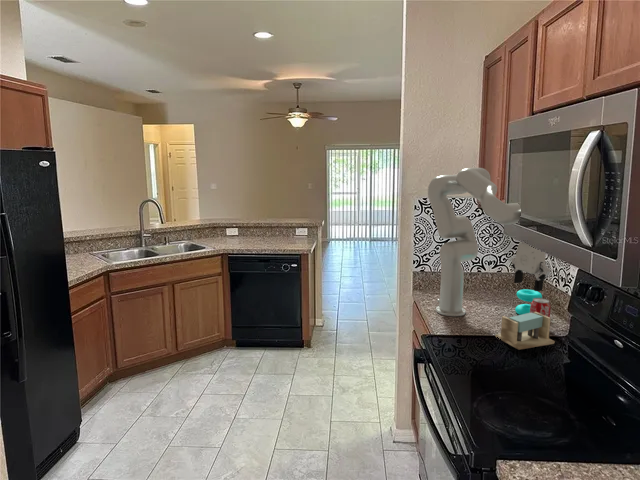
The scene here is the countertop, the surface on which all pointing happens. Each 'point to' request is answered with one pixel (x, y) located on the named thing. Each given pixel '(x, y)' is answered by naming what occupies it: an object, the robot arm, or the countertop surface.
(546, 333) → the peg stand
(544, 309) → the soda can
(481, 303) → the countertop surface
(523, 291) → the donuts
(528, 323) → the pale teal rectangular block
